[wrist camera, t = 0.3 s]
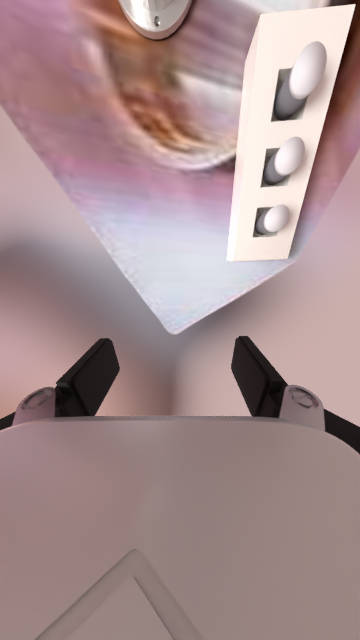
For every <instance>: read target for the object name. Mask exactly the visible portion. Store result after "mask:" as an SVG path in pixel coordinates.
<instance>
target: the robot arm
mask: <svg viewBox="0 0 360 640" xmlns="http://www.w3.org/2000/svg"><path fill="white" fill-rule="evenodd" d="M118 2H119V4H120V6H121V8H122V10H123V13H124V15H125V16H126V18H127V19H128V21H129V22H130V24H131V25H132V26H133V27H134V28H135V29H136V30H137V31H138V32H139V33H140V34H142V35H143V36H145V37H148V38H151V39H162V38H165V37H168V36H169V35H171V34H172V33H173V32H175V31H176V29H177V28H178V27H179V26H180V25H181V23H182V22H183V20H184V18H185V16H186V15H187V13H188V10H189V8H190V5H191V3H192V0H118ZM119 369H120V367H119V363H118V360H117V357H116V353H115V350H114V346H113V343H112V341H111V340H110V339H109V338H101V339H99V340H98V341H97V342H96V343H95V344H94V345H93V346H92V347H91V348H90V349H89V350H88V351H87V352H86V353H85V354H84V355H83V356H82V357H81V358H80V359H79V360H78V361H77V362H76V363H75V364H74V365H73V366H72V367H71V368H70V369H69V370H68V371H67V372H66V373H65V374H64V375H63V376H62V377H61V378H60V379H59V380H58V381H57V382H56V384H57V386H56V388H53V387H45V388H42V389H39V390H37V391H35V392H33V393H31V394H30V395H28V396H27V397H26V398H24V399H23V400H22V401H21V402H20V404H19V405H18V407H17V409H16V412H14V413H12V414H10V415H8V416H6V417H4V418H2V419H0V640H360V427H358V426H357V425H355V424H353V423H351V422H349V421H347V420H345V419H343V418H340V417H339V416H337V415H335V414H333V413H331V412H329V411H327V410H325V409H324V408H323V404H322V402H321V401H320V399H319V398H318V397H317V396H316V395H315V394H313V393H312V392H311V391H309V390H307V389H305V388H303V387H300V386H296V385H288V384H287V383H286V382H285V381H284V379H283V378H282V377H281V376H280V375H279V373H278V372H277V371H276V370H275V368H274V367H273V366H272V365H271V364H270V362H269V361H268V360H267V359H266V358H265V357H264V355H263V354H262V353H261V352H260V351H259V349H258V348H257V347H256V346H255V344H254V343H253V342H252V341H251V339H250V338H249V337H248V336H239V337H238V338H236V341H235V347H234V353H233V359H232V364H231V369H232V372H233V374H234V377H235V379H236V381H237V383H238V386H239V388H240V390H241V392H242V395H243V397H244V399H245V402H246V404H247V407H248V409H249V411H250V413H251V415H252V417H250V416H249V417H248V416H95V414H96V413H97V411H98V409H99V407H100V405H101V403H102V401H103V400H104V398H105V396H106V394H107V392H108V391H109V389H110V387H111V385H112V383H113V381H114V380H115V378H116V376H117V374H118V372H119Z"/></svg>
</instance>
